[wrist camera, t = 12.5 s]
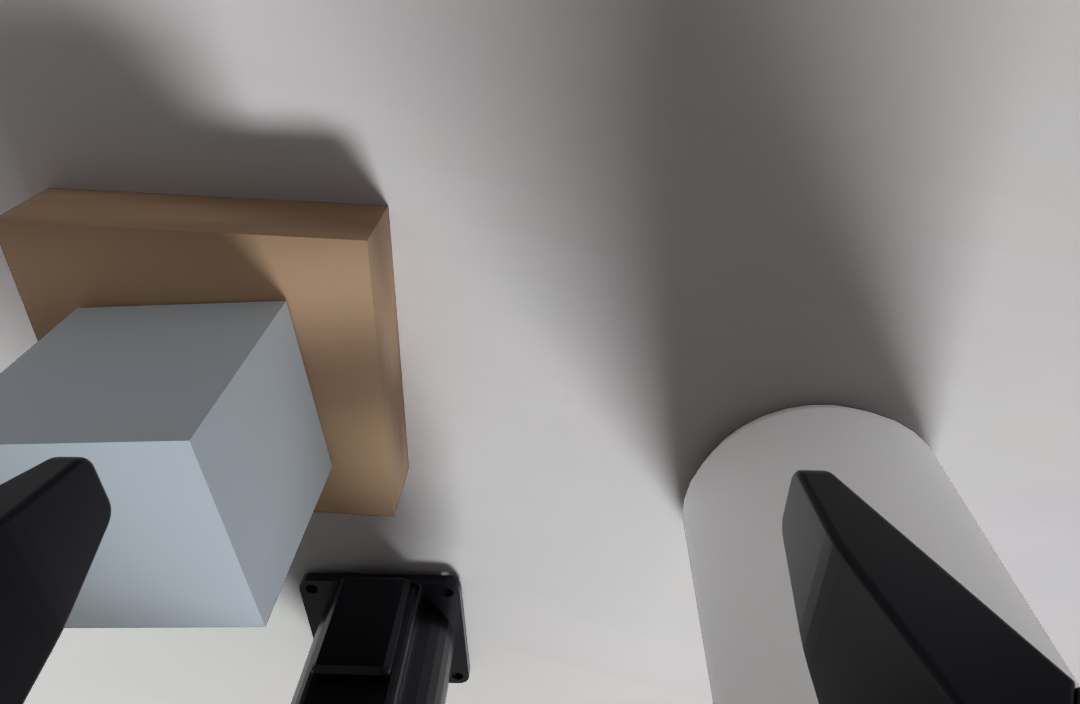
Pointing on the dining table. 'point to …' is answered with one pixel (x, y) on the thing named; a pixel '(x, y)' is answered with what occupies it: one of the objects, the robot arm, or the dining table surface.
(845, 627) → the robot arm
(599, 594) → the dining table surface
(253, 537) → the grey cube
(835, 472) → the white bottle
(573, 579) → the dining table surface
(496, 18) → the dining table surface
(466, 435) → the dining table surface
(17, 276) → the walnut block
